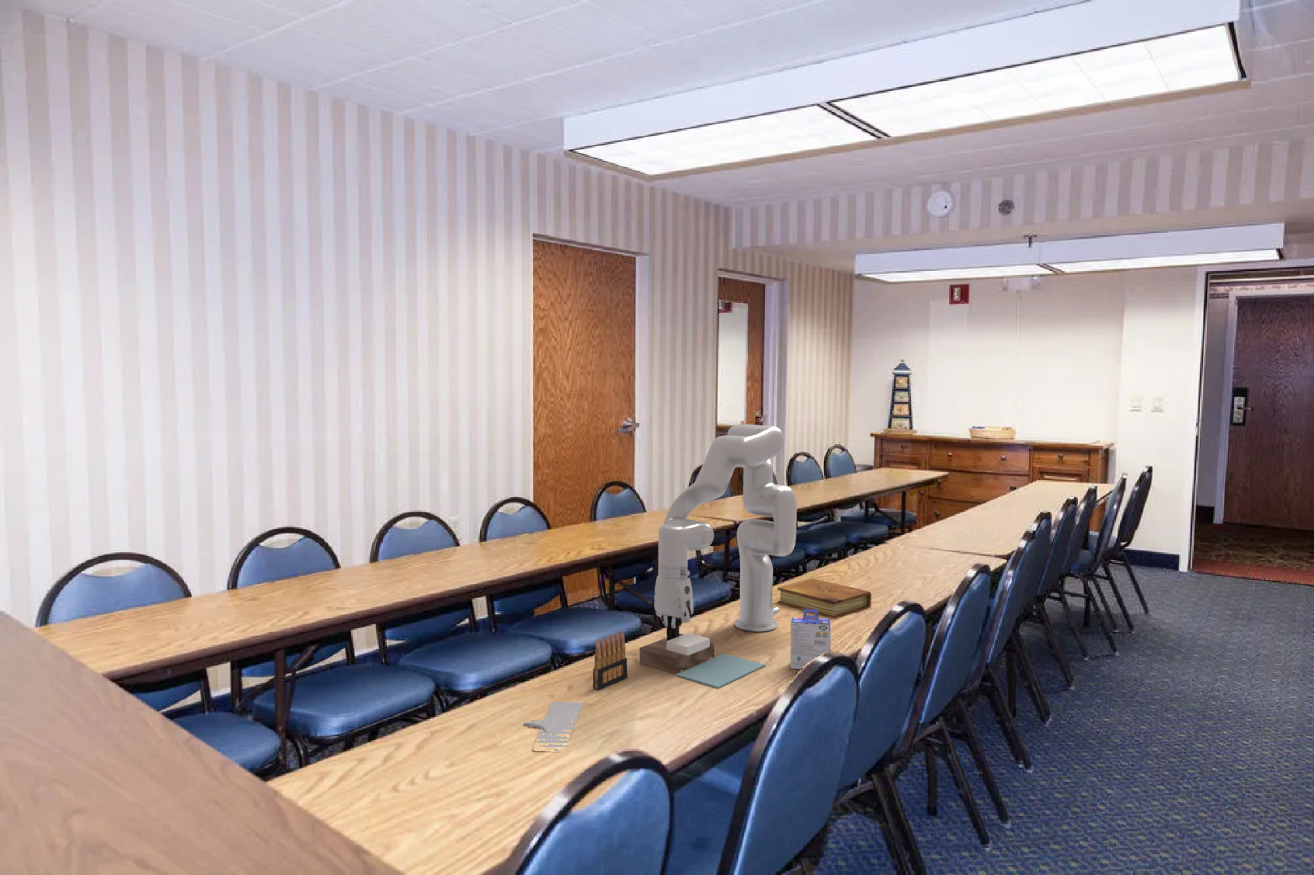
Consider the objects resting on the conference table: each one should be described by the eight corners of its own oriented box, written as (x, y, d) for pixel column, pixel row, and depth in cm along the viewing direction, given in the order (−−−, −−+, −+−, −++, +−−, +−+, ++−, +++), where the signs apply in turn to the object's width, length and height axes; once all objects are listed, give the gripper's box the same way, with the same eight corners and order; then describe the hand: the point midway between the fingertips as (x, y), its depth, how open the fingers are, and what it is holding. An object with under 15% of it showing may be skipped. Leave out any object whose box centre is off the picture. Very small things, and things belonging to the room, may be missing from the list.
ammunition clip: (621, 676, 207) (621, 628, 206) (627, 677, 206) (627, 630, 205) (592, 689, 198) (592, 639, 197) (598, 690, 197) (598, 641, 196)
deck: (678, 647, 228) (678, 633, 228) (714, 657, 220) (714, 642, 220) (639, 662, 216) (639, 647, 216) (675, 673, 208) (675, 658, 208)
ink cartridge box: (830, 664, 215) (830, 609, 213) (830, 672, 209) (831, 615, 208) (791, 662, 216) (791, 607, 215) (790, 669, 211) (790, 613, 210)
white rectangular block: (688, 641, 221) (688, 632, 221) (709, 646, 216) (709, 638, 216) (666, 649, 214) (666, 641, 214) (687, 655, 209) (687, 647, 209)
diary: (871, 609, 267) (871, 591, 267) (834, 620, 255) (835, 601, 255) (813, 594, 285) (814, 577, 284) (777, 604, 272) (777, 586, 272)
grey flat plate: (534, 703, 190) (534, 698, 190) (637, 707, 190) (637, 702, 190) (511, 753, 166) (511, 747, 165) (630, 757, 165) (630, 752, 165)
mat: (723, 655, 222) (723, 653, 222) (765, 666, 213) (765, 664, 213) (676, 675, 207) (676, 674, 207) (718, 688, 198) (718, 687, 198)
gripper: (704, 574, 215) (704, 643, 216) (660, 565, 225) (660, 632, 226) (686, 579, 209) (685, 651, 211) (641, 570, 219) (642, 638, 221)
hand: (672, 641), depth 219 cm, fingers closed
